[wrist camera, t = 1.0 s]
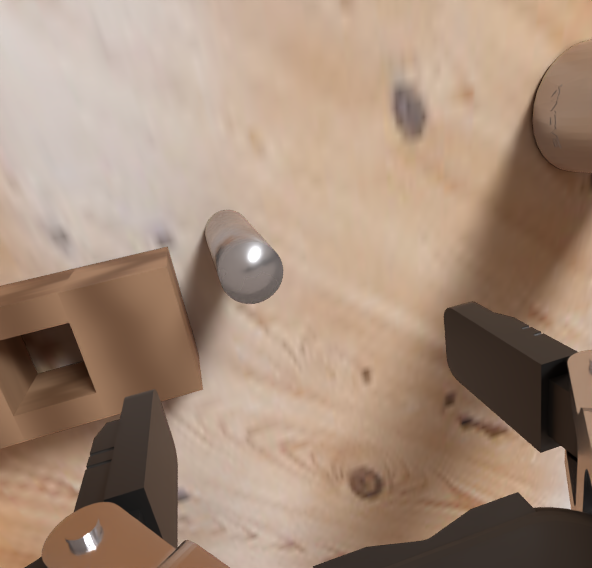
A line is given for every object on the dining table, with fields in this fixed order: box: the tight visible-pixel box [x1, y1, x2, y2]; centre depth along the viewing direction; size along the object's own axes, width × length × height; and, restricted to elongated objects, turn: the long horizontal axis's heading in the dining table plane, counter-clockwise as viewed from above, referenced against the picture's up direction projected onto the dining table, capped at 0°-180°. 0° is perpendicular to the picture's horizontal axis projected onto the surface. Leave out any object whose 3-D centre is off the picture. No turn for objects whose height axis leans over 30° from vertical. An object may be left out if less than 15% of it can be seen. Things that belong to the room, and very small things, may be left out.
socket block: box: [0, 247, 203, 449], centre depth 28 cm, size 16×8×5 cm, turn 102°
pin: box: [205, 210, 283, 304], centre depth 26 cm, size 3×3×10 cm
